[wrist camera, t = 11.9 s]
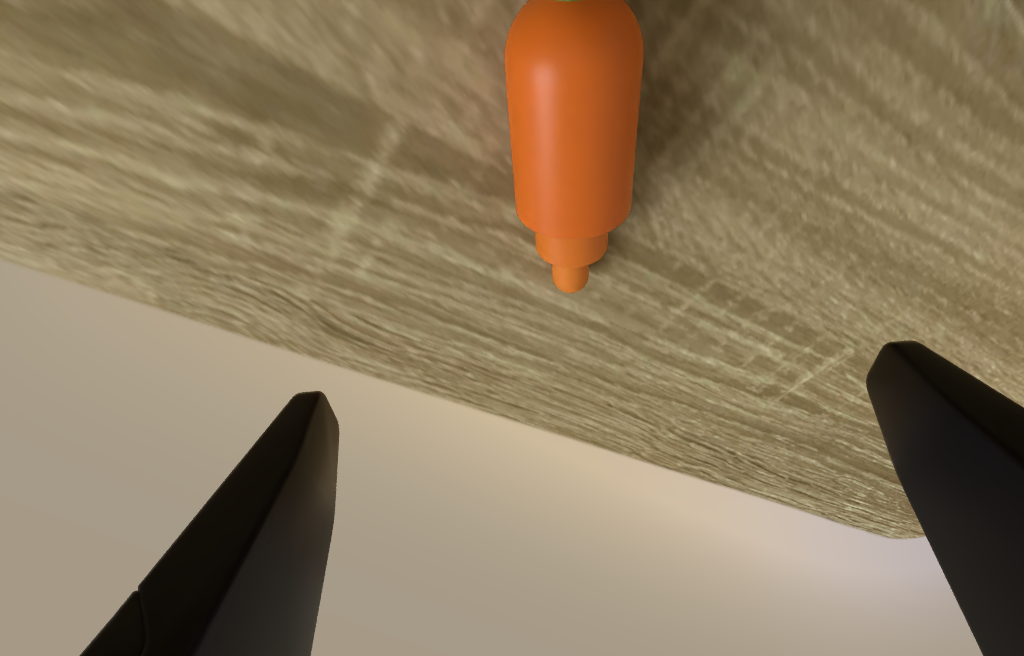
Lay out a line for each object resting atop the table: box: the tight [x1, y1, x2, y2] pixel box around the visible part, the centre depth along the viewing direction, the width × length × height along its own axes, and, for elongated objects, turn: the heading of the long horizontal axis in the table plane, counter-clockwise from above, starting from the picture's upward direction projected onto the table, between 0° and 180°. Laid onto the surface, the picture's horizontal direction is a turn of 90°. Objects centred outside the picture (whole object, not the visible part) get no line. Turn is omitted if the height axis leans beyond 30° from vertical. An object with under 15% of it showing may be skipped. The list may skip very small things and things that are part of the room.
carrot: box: [505, 0, 644, 293], centre depth 16 cm, size 10×3×3 cm, turn 4°
